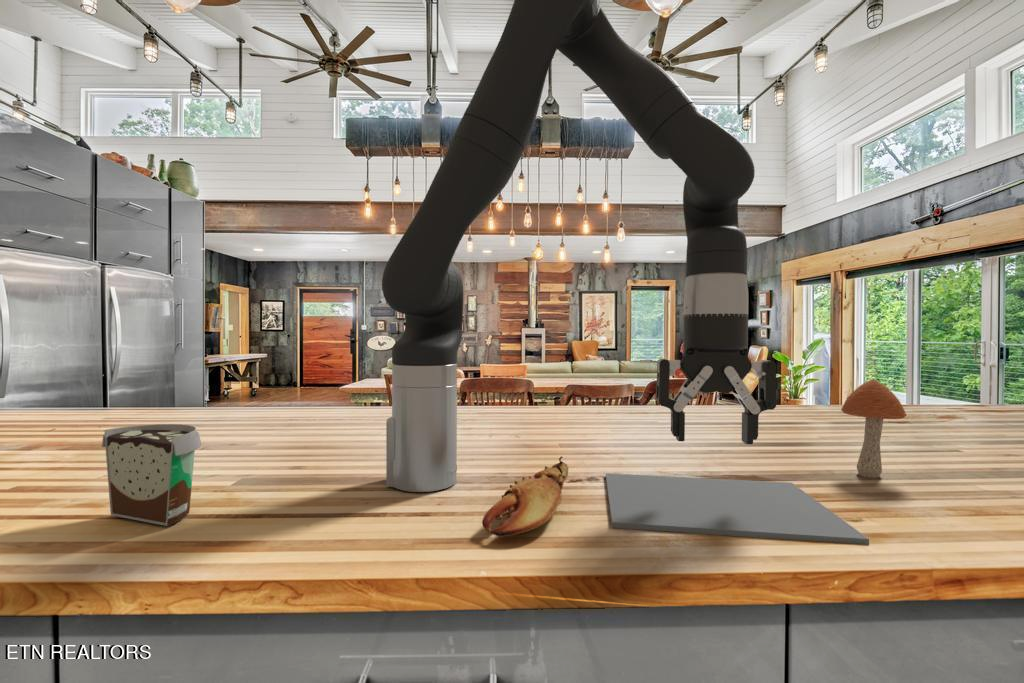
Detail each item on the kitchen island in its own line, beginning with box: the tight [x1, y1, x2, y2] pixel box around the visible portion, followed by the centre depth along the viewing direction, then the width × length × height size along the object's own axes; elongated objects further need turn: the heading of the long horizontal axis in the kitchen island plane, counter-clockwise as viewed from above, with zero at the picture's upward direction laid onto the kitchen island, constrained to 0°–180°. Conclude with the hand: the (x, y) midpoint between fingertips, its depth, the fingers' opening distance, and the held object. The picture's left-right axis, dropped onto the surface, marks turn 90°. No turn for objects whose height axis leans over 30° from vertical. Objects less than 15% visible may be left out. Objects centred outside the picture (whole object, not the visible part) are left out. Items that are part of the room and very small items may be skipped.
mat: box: [605, 472, 870, 545], centre depth 61 cm, size 26×19×1 cm
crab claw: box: [481, 456, 569, 537], centre depth 58 cm, size 7×5×20 cm
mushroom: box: [841, 378, 907, 479], centre depth 73 cm, size 8×8×15 cm
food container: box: [101, 423, 202, 527], centre depth 58 cm, size 12×6×10 cm, turn 71°
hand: (713, 441), depth 61 cm, fingers open, 7 cm apart
